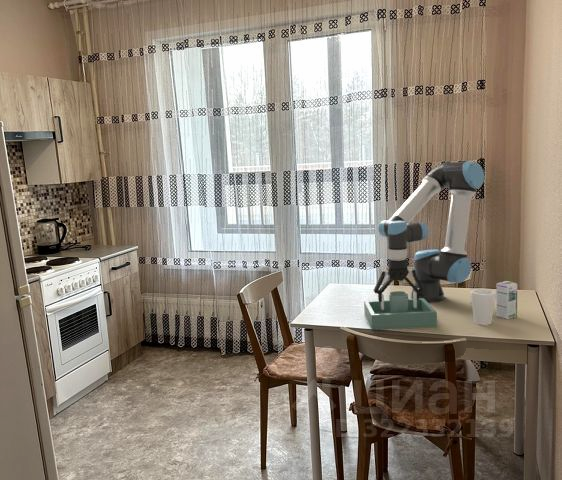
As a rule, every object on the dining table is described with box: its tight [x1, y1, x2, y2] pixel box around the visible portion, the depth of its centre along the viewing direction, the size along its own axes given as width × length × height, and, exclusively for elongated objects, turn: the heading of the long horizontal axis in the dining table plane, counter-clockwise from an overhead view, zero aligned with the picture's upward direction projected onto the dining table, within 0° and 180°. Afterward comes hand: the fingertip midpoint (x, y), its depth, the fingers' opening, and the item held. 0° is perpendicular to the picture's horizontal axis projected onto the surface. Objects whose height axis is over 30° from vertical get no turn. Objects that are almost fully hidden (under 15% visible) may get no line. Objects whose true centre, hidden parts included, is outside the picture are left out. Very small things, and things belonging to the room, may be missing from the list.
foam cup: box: [469, 287, 497, 326], centre depth 202 cm, size 10×9×13 cm
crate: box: [363, 298, 438, 330], centre depth 212 cm, size 26×20×6 cm
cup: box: [388, 290, 409, 313], centre depth 211 cm, size 8×8×10 cm
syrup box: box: [495, 280, 518, 320], centre depth 208 cm, size 6×6×14 cm
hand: (398, 308), depth 211 cm, fingers open, 13 cm apart
